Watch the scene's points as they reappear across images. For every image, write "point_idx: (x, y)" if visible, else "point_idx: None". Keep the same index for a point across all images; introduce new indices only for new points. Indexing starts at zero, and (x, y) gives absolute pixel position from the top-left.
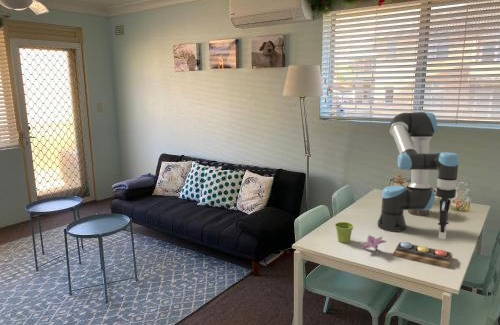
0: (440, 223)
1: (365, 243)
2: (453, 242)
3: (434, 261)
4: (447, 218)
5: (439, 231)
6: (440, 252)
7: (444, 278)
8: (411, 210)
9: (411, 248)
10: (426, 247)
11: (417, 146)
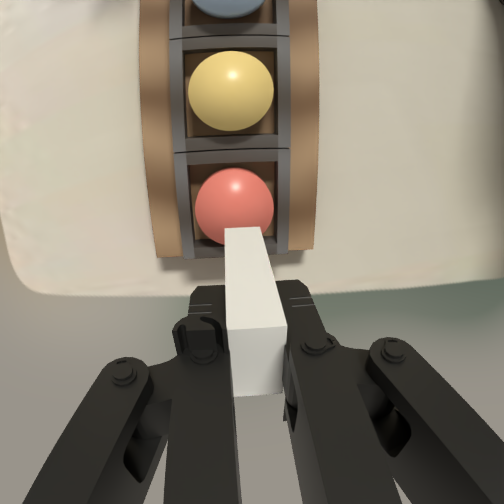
0: (107, 393)
1: None
2: (478, 218)
3: (147, 181)
4: (383, 429)
5: (226, 268)
6: (220, 208)
7: (51, 249)
8: None
9: (264, 17)
10: (259, 107)
11: None
